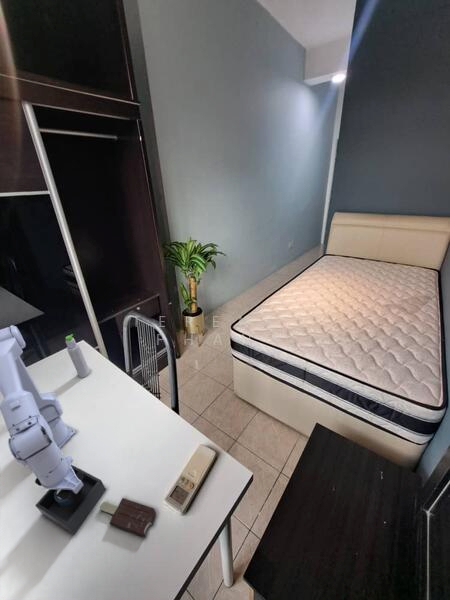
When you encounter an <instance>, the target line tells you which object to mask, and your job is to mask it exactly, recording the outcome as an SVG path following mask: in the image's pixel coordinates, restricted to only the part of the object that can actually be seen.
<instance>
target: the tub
mask: <svg viewBox="0 0 450 600" xmlns="http://www.w3.org/2000/svg"><path fill="white" fill-rule="evenodd" d="M71 467H72V469H73V470H74V472H75V474H76V473H77V472H80V473H82V474H83V476H84V478H83V480H82V483H83V486H82V494H81V495H80V497H79V498H78V499H77V501H76V502H73V503H71V504H69V505H67V506H61V505H59V504H58V502H57V501H56V500H55V497H54V495H55V491H54V490H53V489H47V491H46V492H45V494H44V495H43V496H42V497H41V498H40V499H39V500H38V502H36V504H35V505H34V506H35V507H36V509H37V510H38V511H39V512H40V513H41V514H42V515H43V516H44V517H46V518H47V519H49V520H50V521H52V522H54V523H55V524H57V525H58V526H59V527H61V528H63V529H64V530H65V531H67V532H69V533H70V534H72V535H73V536H75V535H76V533H77V532H78V530H79V529H80V528H81V526H82V525H83V523H84V522H85V520H86V519H87V517H88V516H89V515H90V513H91V512H92V510H93V509H94V508H95V506H96V505H97V503H98V501H100V499H101V497H102V496H103V495H104V493H105V492H106V490H107V488H106V487H105V485H104V484H103V481H102V479H100V478H98V477H96V476H94V475H92V474H91V473H88V471H87V472H86V471H84V470H82V469H80V468H78V467H77V466H74V465H73V464H71Z"/></svg>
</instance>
